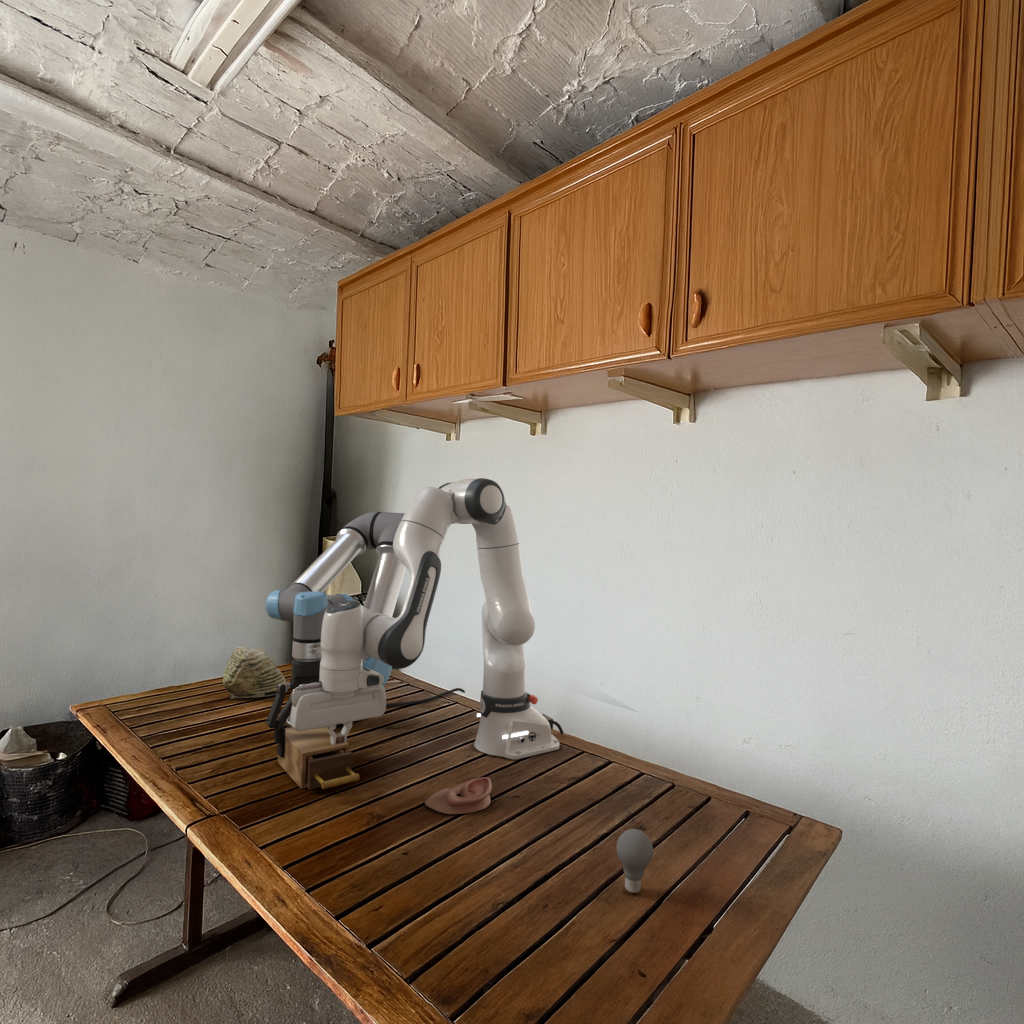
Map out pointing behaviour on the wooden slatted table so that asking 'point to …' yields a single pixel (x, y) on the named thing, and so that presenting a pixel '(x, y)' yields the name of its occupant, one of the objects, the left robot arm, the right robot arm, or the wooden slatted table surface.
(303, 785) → the cabinet
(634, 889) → the light bulb
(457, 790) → the anatomical model
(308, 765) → the drawer
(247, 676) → the fossil
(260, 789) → the wooden slatted table surface
